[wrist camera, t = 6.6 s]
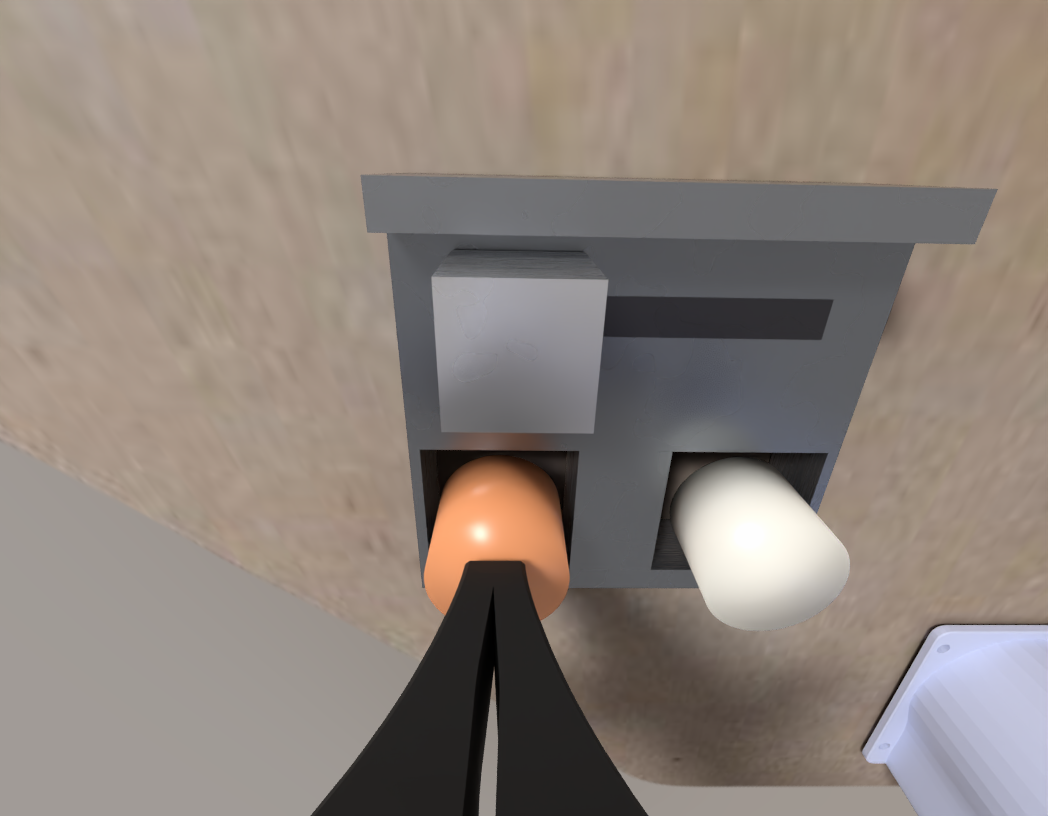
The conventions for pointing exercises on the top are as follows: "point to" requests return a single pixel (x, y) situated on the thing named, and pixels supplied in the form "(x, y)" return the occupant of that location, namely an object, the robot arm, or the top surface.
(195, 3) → the top surface
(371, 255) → the top surface
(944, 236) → the panel
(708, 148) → the top surface
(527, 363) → the slider knob
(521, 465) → the orange button
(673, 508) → the ivory button
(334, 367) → the top surface
